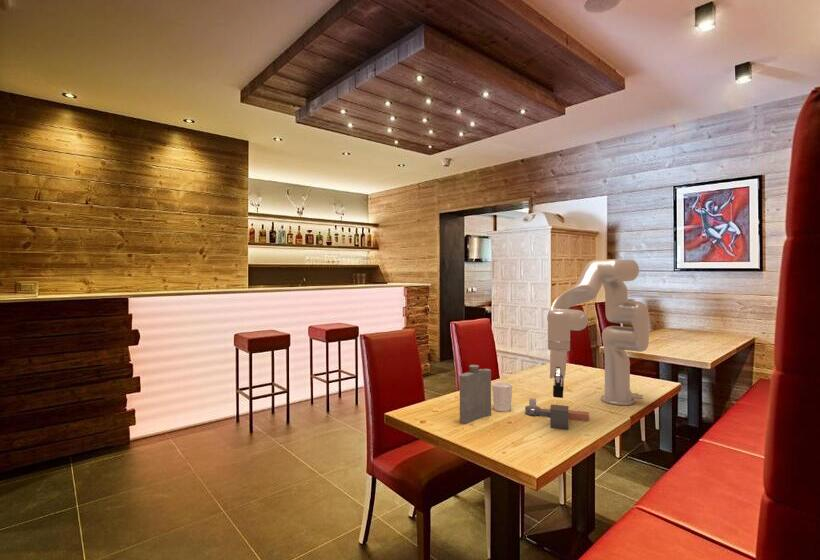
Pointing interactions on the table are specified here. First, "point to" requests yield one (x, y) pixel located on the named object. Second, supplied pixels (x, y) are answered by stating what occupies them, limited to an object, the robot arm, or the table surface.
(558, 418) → the two-tone cube
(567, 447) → the table surface
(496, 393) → the peach tapered cup
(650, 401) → the table surface
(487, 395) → the hip flask
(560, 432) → the table surface
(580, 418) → the ratchet
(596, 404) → the table surface
